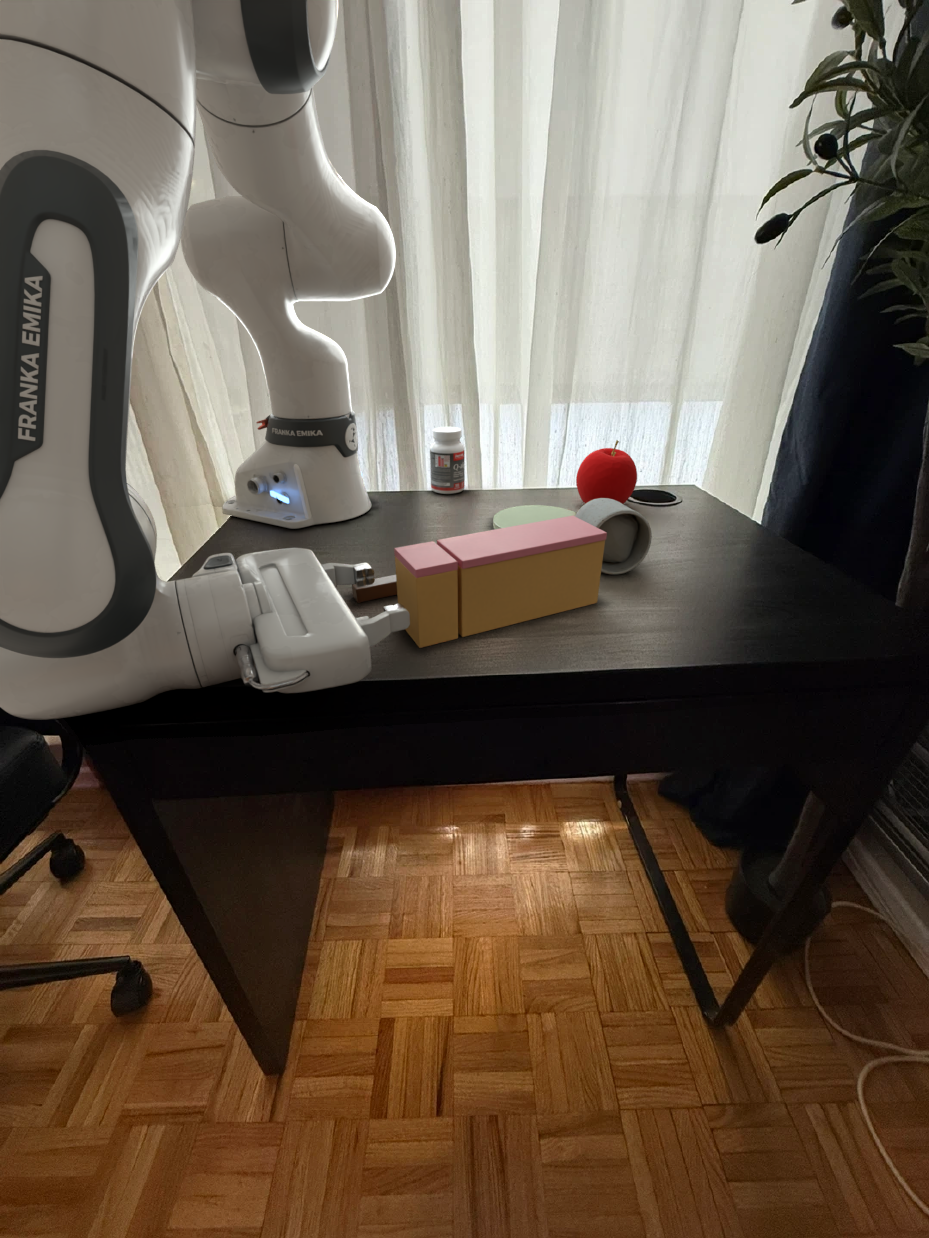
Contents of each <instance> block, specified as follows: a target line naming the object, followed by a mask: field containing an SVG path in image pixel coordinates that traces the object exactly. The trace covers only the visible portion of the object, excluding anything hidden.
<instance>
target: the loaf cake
mask: <svg viewBox="0 0 929 1238" xmlns="http://www.w3.org/2000/svg"><path fill="white" fill-rule="evenodd" d="M606 537H607V532H605V531H603V530H601V529H599V528H597V527H595V526H593V525H591V524H589V523H587V522H585V521H583V520H581V519H579V518H577V517H575V516H568V517H562V518H557V519H551V520H545V521H540V522H534V523H529V524H523V525H517V526H512V527H506V528H501V529H490V530H484V531H479V532H474V533H468V534H467V533H466V534H462V535H457V536H451V537H446V538H439V539H437V540H436V544H437V545H438V546H440V547H441V548H442V549H443V550H444V551H445V552H447V553H448V554H449V555H450V556H451V557H453V558H454V559H455V560H456V561H457V562H458V569H457V580H458V635H460V636H461V638H464V637H469V636H473V635H476V634H477V635H478V634H480V633H485V632H488V631H492V630H496V629H500V628H504V627H508V626H512V625H515V624H519V623H524V622H528V621H531V620H536V619H539V618H543V617H547V616H551V615H554V614H555V615H556V614H558V613H559V614H560V613H563V612H567V611H571V610H574V609H579V608H582V607H586V606H590V605H594V604H598V599H599V593H600V583H601V575H602V572H601V569H602V561H603V553H604V545H605V540H606Z"/></svg>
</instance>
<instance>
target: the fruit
mask: <svg viewBox="0 0 929 1238" xmlns="http://www.w3.org/2000/svg"><path fill="white" fill-rule="evenodd" d="M619 442H620V440H618V439H616V441H615V444H614V447H613V448H612V447H603V448H600V449H596V450H594V451H592V452H590V453H589V454H587V455H586V456H585V458H584V459H583V460H582V462H581V463H580V465H579V467H578V470H577V471H576V472H577V473H576V478H575V483H576V489H577V492H578V495H579V498H580V499H581V502H583V503H584V504H586V503H587V502H589V501H591V500H593V499H598V498H609V499H613V500H616V501H618V502H620V503H622V504H623V505H625V503H626V502H627V501H628V500H629V499H630V497H631V496H632V494H633V493H634V491H635V489H636V485H637V482H638V470H637V465H636V463H635V461H634V459H633V458H632V457H631V455H630V454H628V453H627V451H624V450H621V449H618V448H617V446H618V444H619Z"/></svg>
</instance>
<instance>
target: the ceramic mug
mask: <svg viewBox="0 0 929 1238" xmlns="http://www.w3.org/2000/svg"><path fill="white" fill-rule="evenodd" d="M575 517H577V518H579V519H581V520H583V521H585V522H587V523H589V524H591V525H593V526H595V527H597V528H599V529H601V530H603V531H605V532H607V537H606V540H605V545H604V553H603V561H602V569H601V573H603V574H606V575H613V576H614V575H623V574H625V573H628V572H631V571H632V570H634V569H635V568H636V567H638V566H639V565H640V564H641V563H642V562H643V561H644V559H646V557H647V555H648V553H649V551H650V548H651V546H652V545H651V544H652V537H653V536H652V529H651V526H650V523H649V521H648V520H647V519H646V517H645V516H644V515H643V514H641V513H640V512H638V511H636V510H634V509H633V508H630V507H629V506H627V505H625V504H622V503H620V502H618V501H616V500H613V499H609V498H598V499H593V500H591V501H589V502H587V503H586V504H585V503H584V504H583V505H582V506H580V507H579V508H578V510H577V511H576V515H575Z"/></svg>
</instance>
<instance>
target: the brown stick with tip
mask: <svg viewBox="0 0 929 1238" xmlns="http://www.w3.org/2000/svg"><path fill="white" fill-rule="evenodd" d="M351 592H352V597H353V598H354V600H355V601H356V603H358V604H360V603H363V602H368V601H373V600H377V599H383V598H387V597H391V596H396V595H397V581H396V574H391V575H386V576H381V577H377V578H375V582H374V583H373V584H371V585H365V586H362V587H357V586H356V584H351Z"/></svg>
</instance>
